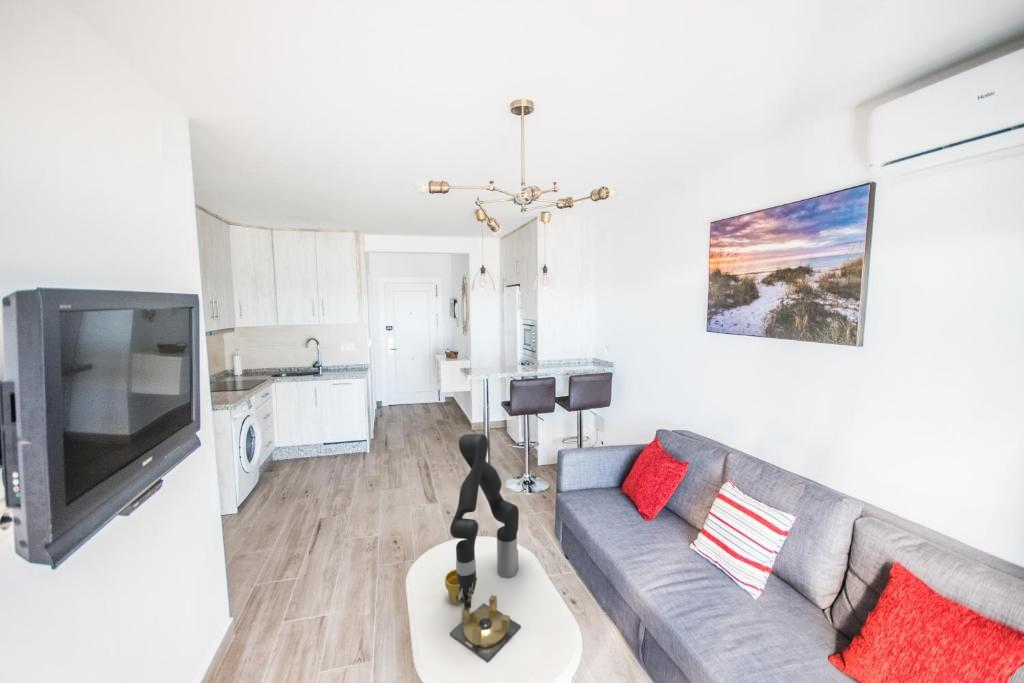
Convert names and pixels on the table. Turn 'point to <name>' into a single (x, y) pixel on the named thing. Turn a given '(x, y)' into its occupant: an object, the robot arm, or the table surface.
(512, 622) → the flange plate
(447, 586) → the plant pot
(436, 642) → the table surface
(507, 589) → the table surface
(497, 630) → the pegged brass disc
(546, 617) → the table surface
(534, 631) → the table surface
